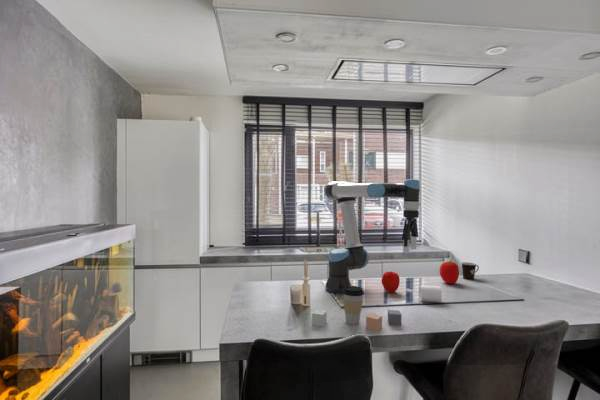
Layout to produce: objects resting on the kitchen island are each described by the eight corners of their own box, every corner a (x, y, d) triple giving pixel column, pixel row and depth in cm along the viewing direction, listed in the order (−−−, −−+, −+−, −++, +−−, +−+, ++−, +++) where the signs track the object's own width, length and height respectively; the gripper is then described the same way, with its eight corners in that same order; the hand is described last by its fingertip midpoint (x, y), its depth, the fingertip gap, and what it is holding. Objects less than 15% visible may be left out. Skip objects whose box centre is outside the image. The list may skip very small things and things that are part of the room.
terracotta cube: (366, 328, 145) (366, 316, 145) (371, 324, 149) (371, 313, 149) (377, 331, 142) (377, 319, 142) (382, 327, 146) (382, 315, 146)
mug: (441, 304, 176) (442, 289, 176) (421, 303, 178) (421, 287, 178) (437, 297, 188) (437, 283, 188) (418, 296, 190) (418, 281, 190)
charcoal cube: (389, 325, 148) (389, 313, 148) (387, 321, 153) (387, 310, 153) (401, 326, 148) (401, 314, 148) (399, 321, 153) (399, 310, 153)
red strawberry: (462, 286, 212) (463, 263, 211) (443, 285, 212) (444, 262, 212) (453, 280, 224) (454, 259, 224) (436, 280, 224) (436, 258, 224)
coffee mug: (463, 279, 226) (463, 264, 226) (459, 276, 235) (460, 262, 235) (482, 280, 225) (482, 265, 224) (478, 277, 233) (478, 262, 233)
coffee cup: (339, 318, 155) (340, 285, 155) (360, 318, 156) (360, 285, 156) (344, 326, 146) (344, 291, 146) (366, 326, 147) (366, 291, 146)
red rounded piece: (380, 293, 194) (380, 272, 194) (382, 289, 204) (383, 268, 203) (398, 295, 191) (398, 273, 190) (400, 291, 200) (400, 270, 200)
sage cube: (311, 324, 148) (311, 313, 148) (315, 320, 153) (315, 309, 153) (323, 326, 146) (323, 314, 146) (326, 322, 151) (326, 311, 151)
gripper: (411, 211, 164) (410, 255, 165) (424, 209, 185) (423, 248, 186) (396, 210, 168) (394, 253, 169) (410, 208, 189) (409, 246, 190)
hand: (409, 251), depth 177 cm, fingers open, 13 cm apart
